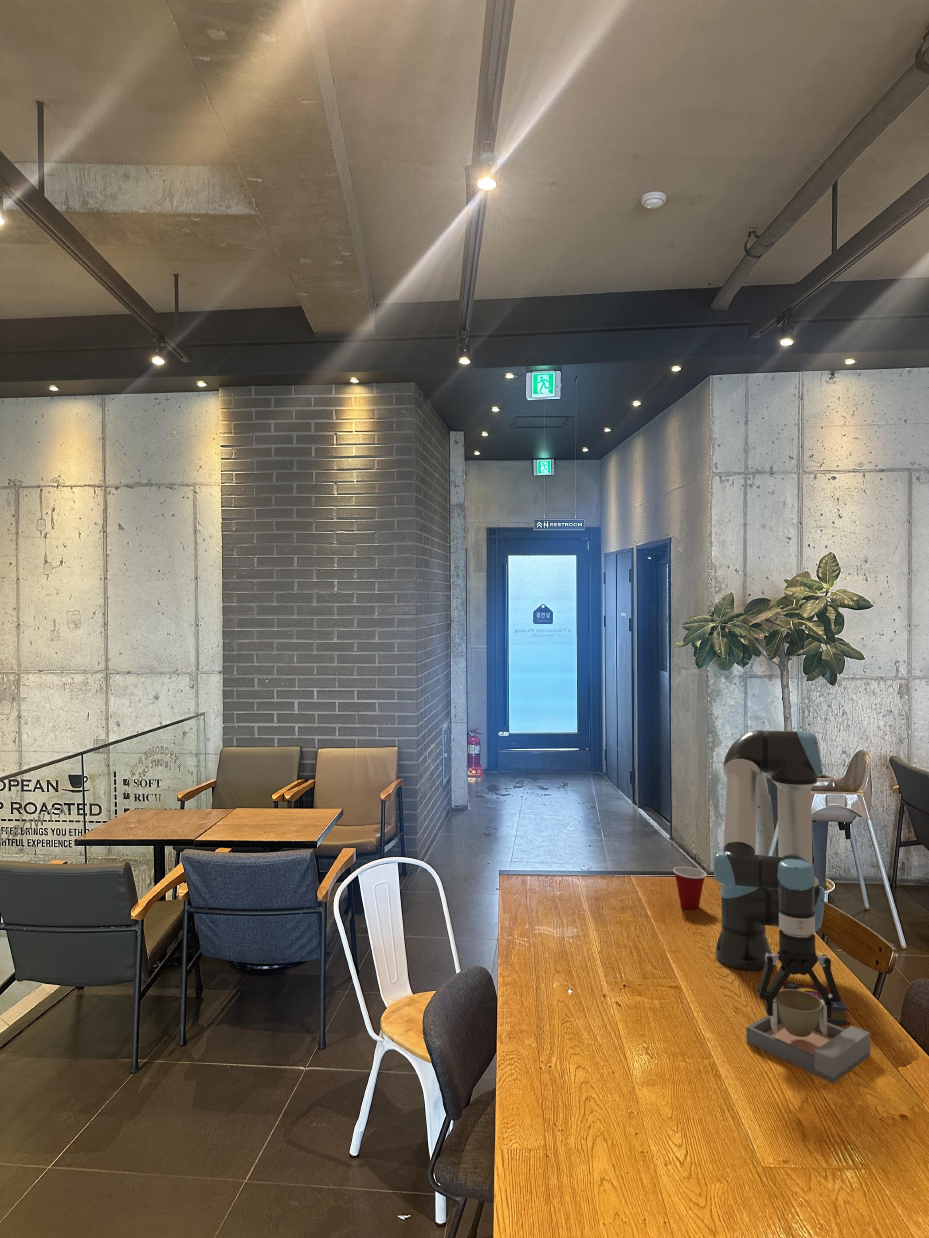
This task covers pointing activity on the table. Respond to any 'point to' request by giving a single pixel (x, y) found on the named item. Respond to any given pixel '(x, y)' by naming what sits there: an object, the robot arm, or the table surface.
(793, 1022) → the flower pot
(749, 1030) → the grey open tray
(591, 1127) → the table surface
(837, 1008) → the decorative book
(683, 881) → the plastic cup
